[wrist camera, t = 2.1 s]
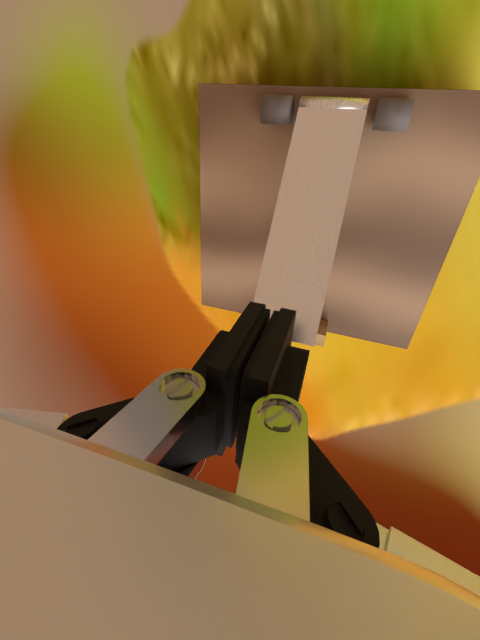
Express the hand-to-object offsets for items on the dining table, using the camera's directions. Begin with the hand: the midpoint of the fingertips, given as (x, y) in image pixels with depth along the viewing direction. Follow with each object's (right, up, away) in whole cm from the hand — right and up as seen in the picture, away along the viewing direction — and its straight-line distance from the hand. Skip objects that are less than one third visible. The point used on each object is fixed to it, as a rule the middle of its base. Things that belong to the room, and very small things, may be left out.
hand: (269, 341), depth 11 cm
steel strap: (+2, +5, +3) cm, 7 cm away
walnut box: (+5, +8, +10) cm, 14 cm away
